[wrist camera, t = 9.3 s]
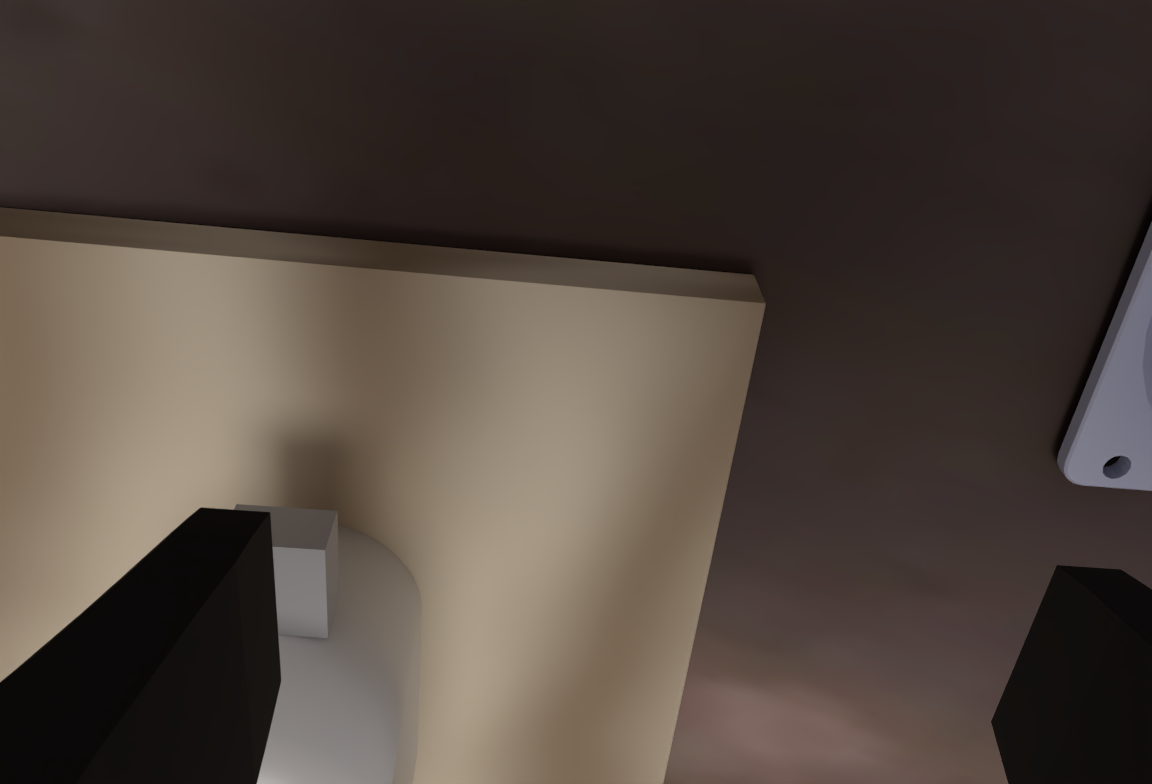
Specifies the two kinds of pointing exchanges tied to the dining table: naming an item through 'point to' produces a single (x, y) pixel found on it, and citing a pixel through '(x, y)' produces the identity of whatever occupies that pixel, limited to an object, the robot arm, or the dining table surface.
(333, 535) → the usb plug
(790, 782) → the dining table surface
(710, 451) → the birch board
